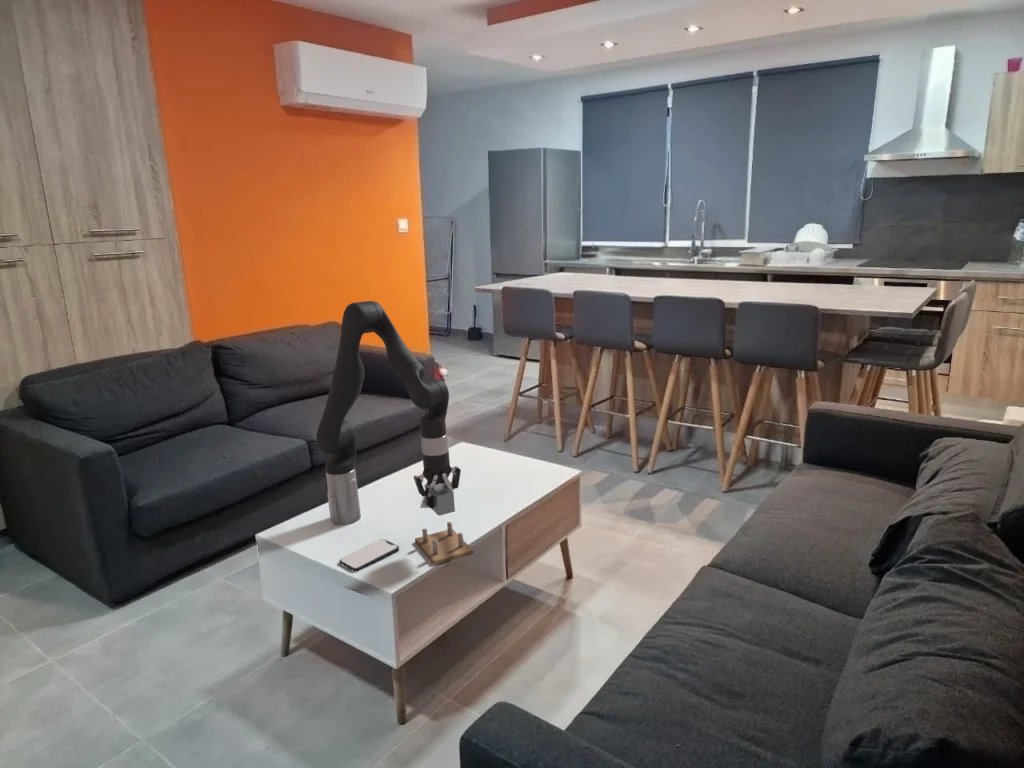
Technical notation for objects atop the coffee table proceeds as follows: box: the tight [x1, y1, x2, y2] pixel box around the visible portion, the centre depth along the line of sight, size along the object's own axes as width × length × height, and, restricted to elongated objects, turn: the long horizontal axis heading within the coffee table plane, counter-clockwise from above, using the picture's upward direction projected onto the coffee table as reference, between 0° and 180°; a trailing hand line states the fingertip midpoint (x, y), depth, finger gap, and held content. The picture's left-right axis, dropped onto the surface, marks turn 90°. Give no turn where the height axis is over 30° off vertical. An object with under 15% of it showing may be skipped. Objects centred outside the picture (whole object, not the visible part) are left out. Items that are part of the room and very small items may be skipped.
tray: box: [414, 521, 474, 566], centre depth 196 cm, size 12×16×5 cm
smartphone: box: [338, 538, 400, 572], centre depth 194 cm, size 9×2×16 cm
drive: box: [424, 483, 456, 516], centre depth 193 cm, size 5×10×6 cm, turn 27°
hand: (440, 504), depth 194 cm, fingers closed on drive, 5 cm apart
